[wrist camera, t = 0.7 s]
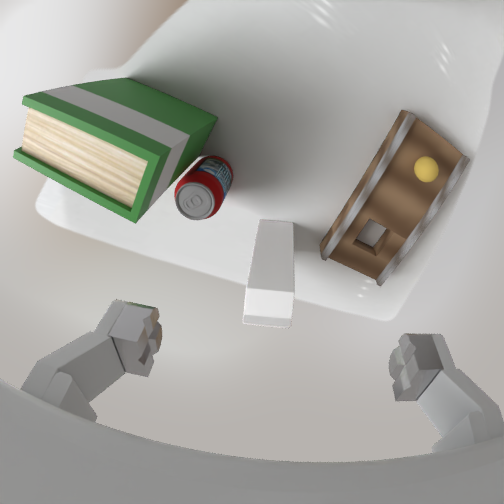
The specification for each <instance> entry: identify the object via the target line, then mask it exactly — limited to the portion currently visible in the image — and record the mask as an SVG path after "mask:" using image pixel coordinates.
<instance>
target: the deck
mask: <svg viewBox="0 0 504 504" xmlns="http://www.w3.org/2000/svg"><path fill="white" fill-rule="evenodd" d="M424 156H427V157H430V158H432V159H434V160H435V162H436V163H437V165H438V169H439V172H438V176H437V177H436V179H435V180H433V181H432V182H423V181H421V180H420V179H418V177H417V176H416V174H415V171H414V166H415V163H416V161H417V160H418V159H419V158H421V157H424ZM469 161H470V159H469V158H468V157H466V156H464V155H463V154H462V153H460V152H459V151H458V150H457V149H456V148H455V147H453V146H452V145H451V144H450V143H449V142H447V141H446V140H445V139H444V138H442V137H441V136H440V135H439V134H437V133H436V132H435V131H434V130H432V129H431V128H430V127H428V126H427V125H426V124H424V123H423V122H422V121H420V120H419V119H418V118H416V116H415V115H414V114H412V113H410V112H407V111H404V110H401V112H400V114H399V116H398V118H397V119H396V121H395V123H394V125H393V126H392V128H391V130H390V132H389V133H388V135H387V137H386V139H385V140H384V142H383V144H382V145H381V147H380V149H379V151H378V152H377V154H376V156H375V157H374V159H373V161H372V162H371V164H370V166H369V167H368V169H367V171H366V172H365V174H364V176H363V177H362V179H361V180H360V182H359V184H358V185H357V187H356V189H355V190H354V192H353V193H352V195H351V197H350V198H349V200H348V201H347V203H346V205H345V206H344V208H343V209H342V211H341V213H340V214H339V216H338V217H337V219H336V220H335V222H334V224H333V225H332V227H331V228H330V230H329V231H328V233H327V234H326V236H325V238H324V239H323V241H322V242H321V244H320V251H321V258H322V259H323V260H325V261H326V260H327V258H330V259H332V260H335V261H337V262H339V263H341V264H343V265H345V266H347V267H350V268H352V269H354V270H356V271H358V272H360V273H362V274H364V275H366V276H369V277H371V278H373V279H375V280H376V282H377V285H379V286H381V285H382V284H383V283H384V282H385V280H386V279H387V278H388V277H389V275H390V274H391V273H392V272H393V270H394V269H395V268H396V267H397V265H398V264H399V263H400V262H401V260H402V259H403V258H404V256H405V255H406V254H407V252H408V251H409V250H410V248H411V247H412V246H413V244H414V243H415V242H416V240H417V239H418V238H419V236H420V235H421V234H422V232H423V231H424V229H425V228H426V227H427V225H428V224H429V222H430V221H431V220H432V218H433V217H434V215H435V214H436V212H437V211H438V209H439V208H440V206H441V205H442V203H443V202H444V200H445V199H446V197H447V196H448V194H449V193H450V191H451V190H452V188H453V187H454V185H455V184H456V182H457V180H458V179H459V177H460V176H461V174H462V172H463V171H464V169H465V167H466V166H467V164H468V162H469ZM369 218H370V219H371V220H373V221H375V222H377V223H379V224H380V225H382V226H384V227H386V228H387V229H386V230H385V232H384V233H383V235H382V236H381V237H380V239H379V240H378V242H377V243H376V244H375V246H374V247H371V246H369V245H367V244H365V243H363V242H361V241H359V240H357V239H356V238H357V236H358V235H359V233H360V232H361V230H362V229H363V227H364V226H365V224H366V223H367V221H368V220H369Z"/></svg>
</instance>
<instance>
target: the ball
mask: <svg viewBox="0 0 504 504" xmlns="http://www.w3.org/2000/svg"><path fill="white" fill-rule="evenodd" d="M414 171H415V174H416V176H417V177H418V179H420V180H421V181H423V182H432V181H433V180H435V179H436V177H437V176H438V172H439V169H438V165H437V163H436V162H435V160H434V159H432V158H430V157H427V156H424V157H421V158H419V159H418V160H417V161H416V163H415V166H414Z"/></svg>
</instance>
